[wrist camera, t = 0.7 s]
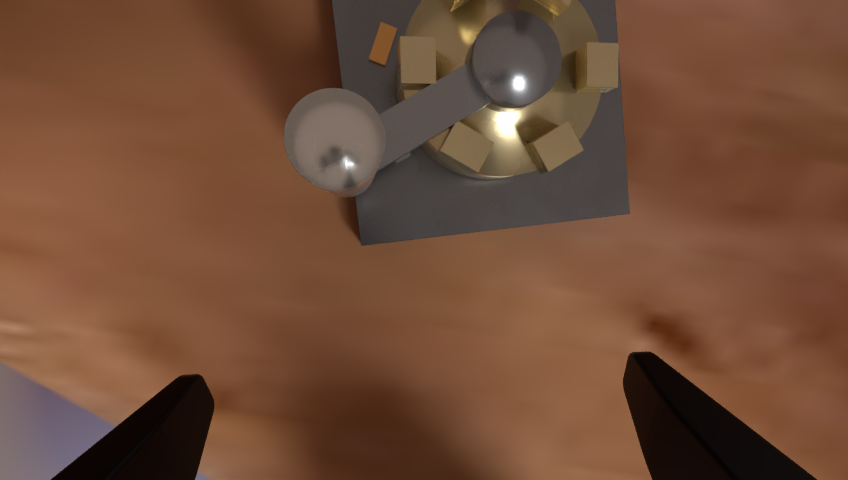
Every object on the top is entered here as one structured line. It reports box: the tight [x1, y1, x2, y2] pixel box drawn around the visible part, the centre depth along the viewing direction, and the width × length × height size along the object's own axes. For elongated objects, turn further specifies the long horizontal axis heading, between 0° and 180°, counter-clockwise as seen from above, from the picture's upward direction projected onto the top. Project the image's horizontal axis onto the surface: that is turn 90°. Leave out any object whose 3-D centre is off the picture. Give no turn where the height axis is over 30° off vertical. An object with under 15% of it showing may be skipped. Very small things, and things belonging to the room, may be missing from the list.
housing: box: [332, 0, 630, 246], centre depth 22 cm, size 14×14×2 cm
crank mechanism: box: [284, 0, 619, 197], centre depth 17 cm, size 14×9×10 cm, turn 121°
